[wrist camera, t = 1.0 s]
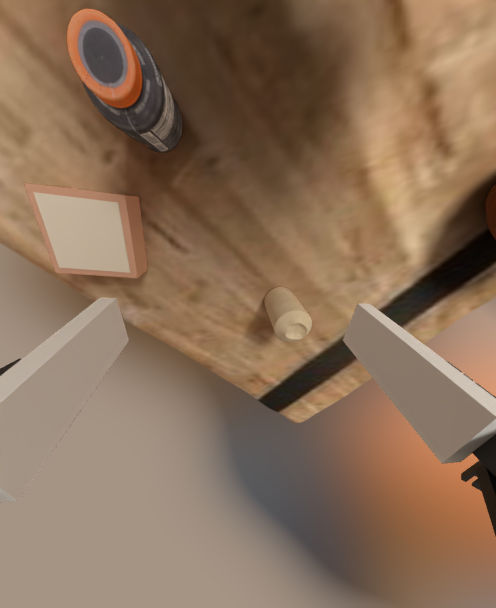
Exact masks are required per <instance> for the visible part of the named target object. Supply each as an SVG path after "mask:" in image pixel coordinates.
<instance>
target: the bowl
mask: <svg viewBox="0 0 496 608" xmlns="http://www.w3.org/2000/svg"><path fill="white" fill-rule="evenodd" d="M485 209H486V211H487V217H486V219H487V225H488V228H489V230H490V232H491V234H492V236H493V237H494V238H495V239H496V184H495V185H494V186H493V188H492V189H491V191H490V192H489V194H488V196H487V199H486V202H485Z"/></svg>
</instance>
